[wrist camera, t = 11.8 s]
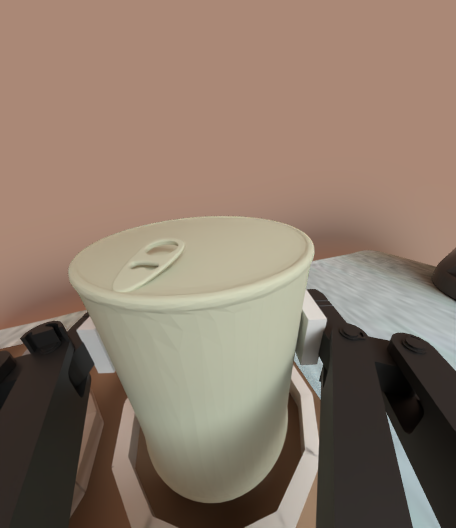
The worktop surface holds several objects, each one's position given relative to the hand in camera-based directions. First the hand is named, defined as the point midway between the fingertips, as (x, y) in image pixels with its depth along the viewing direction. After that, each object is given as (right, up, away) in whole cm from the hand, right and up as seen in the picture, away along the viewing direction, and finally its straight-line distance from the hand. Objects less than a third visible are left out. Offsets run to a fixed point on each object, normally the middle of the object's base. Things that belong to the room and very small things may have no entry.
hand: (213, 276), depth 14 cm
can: (0, -9, -1) cm, 9 cm away
